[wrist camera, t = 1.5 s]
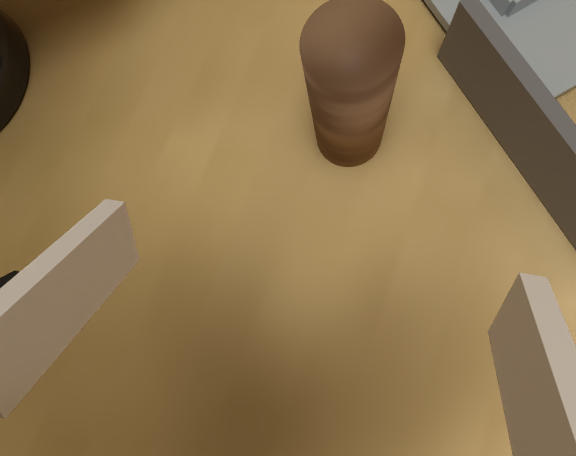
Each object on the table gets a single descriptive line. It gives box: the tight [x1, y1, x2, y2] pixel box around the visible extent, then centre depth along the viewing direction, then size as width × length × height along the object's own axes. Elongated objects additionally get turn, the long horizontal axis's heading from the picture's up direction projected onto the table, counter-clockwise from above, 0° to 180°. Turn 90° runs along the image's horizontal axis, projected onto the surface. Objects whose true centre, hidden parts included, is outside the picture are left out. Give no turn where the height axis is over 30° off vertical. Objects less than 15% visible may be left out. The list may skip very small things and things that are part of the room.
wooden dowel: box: [300, 0, 405, 167], centre depth 25 cm, size 5×5×12 cm
